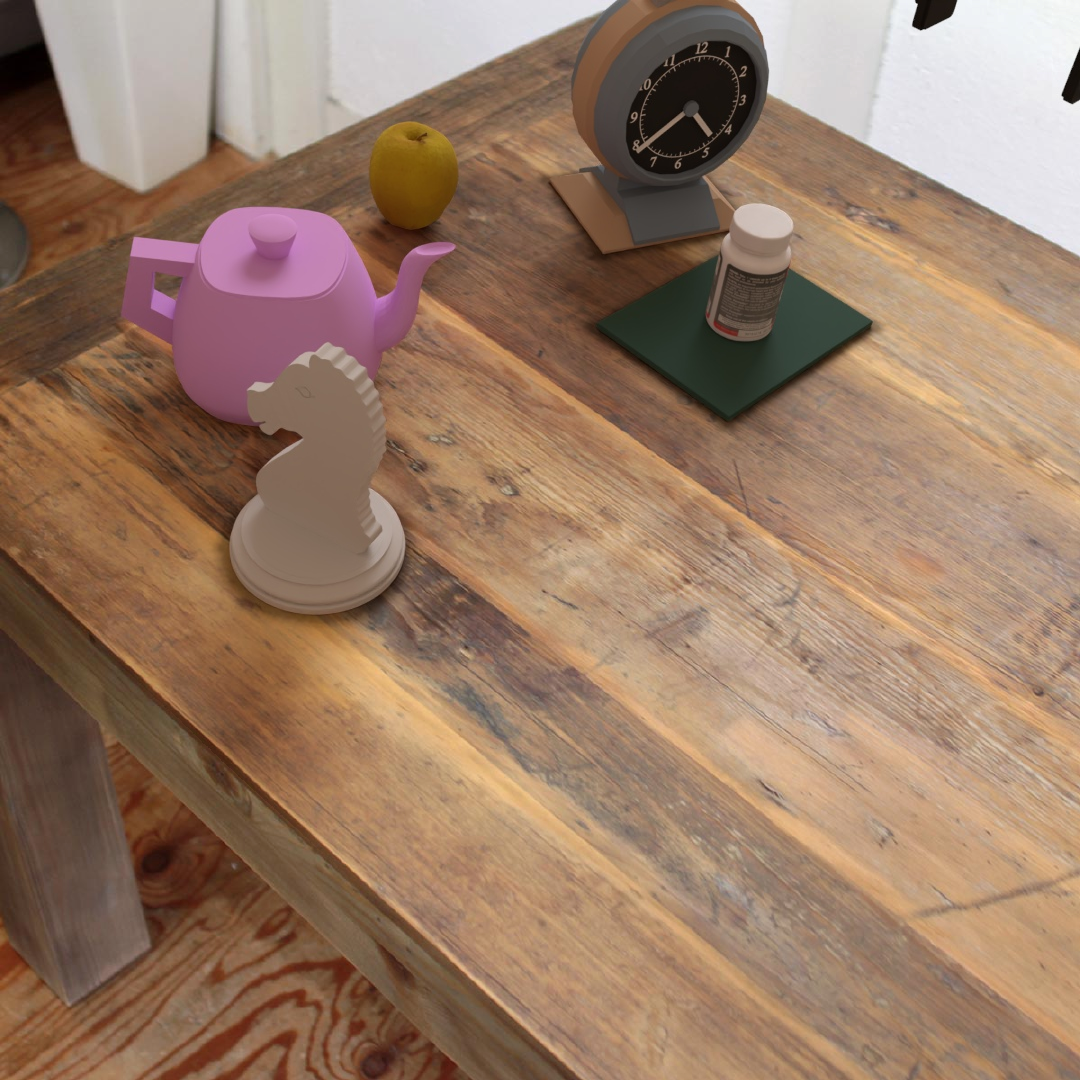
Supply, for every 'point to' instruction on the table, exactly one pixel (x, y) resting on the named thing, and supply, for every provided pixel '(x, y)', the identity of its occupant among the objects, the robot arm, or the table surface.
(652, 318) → the mat
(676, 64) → the alarm clock
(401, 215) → the apple
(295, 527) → the chess piece
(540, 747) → the table surface
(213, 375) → the teapot
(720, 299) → the pill bottle
